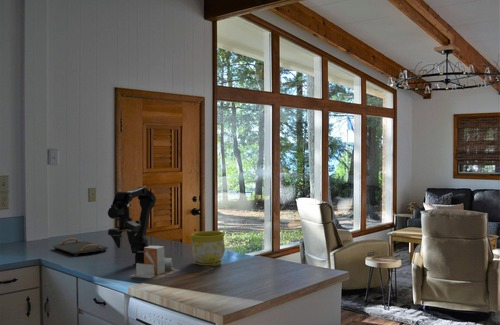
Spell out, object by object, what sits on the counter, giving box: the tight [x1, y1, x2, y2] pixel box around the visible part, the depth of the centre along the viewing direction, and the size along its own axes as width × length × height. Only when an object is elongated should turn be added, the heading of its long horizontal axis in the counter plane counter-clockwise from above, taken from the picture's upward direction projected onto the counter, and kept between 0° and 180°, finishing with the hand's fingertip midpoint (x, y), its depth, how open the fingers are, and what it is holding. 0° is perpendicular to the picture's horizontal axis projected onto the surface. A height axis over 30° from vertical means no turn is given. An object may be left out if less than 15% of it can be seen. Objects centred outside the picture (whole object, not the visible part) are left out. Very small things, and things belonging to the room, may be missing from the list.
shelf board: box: [129, 268, 181, 280], centre depth 262 cm, size 20×17×1 cm
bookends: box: [133, 257, 176, 279], centre depth 262 cm, size 20×10×6 cm, turn 152°
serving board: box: [52, 238, 109, 257], centre depth 331 cm, size 39×23×6 cm, turn 41°
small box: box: [144, 245, 165, 275], centre depth 262 cm, size 8×6×13 cm
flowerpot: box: [190, 230, 226, 267], centre depth 282 cm, size 18×18×16 cm
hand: (125, 246), depth 271 cm, fingers open, 9 cm apart
